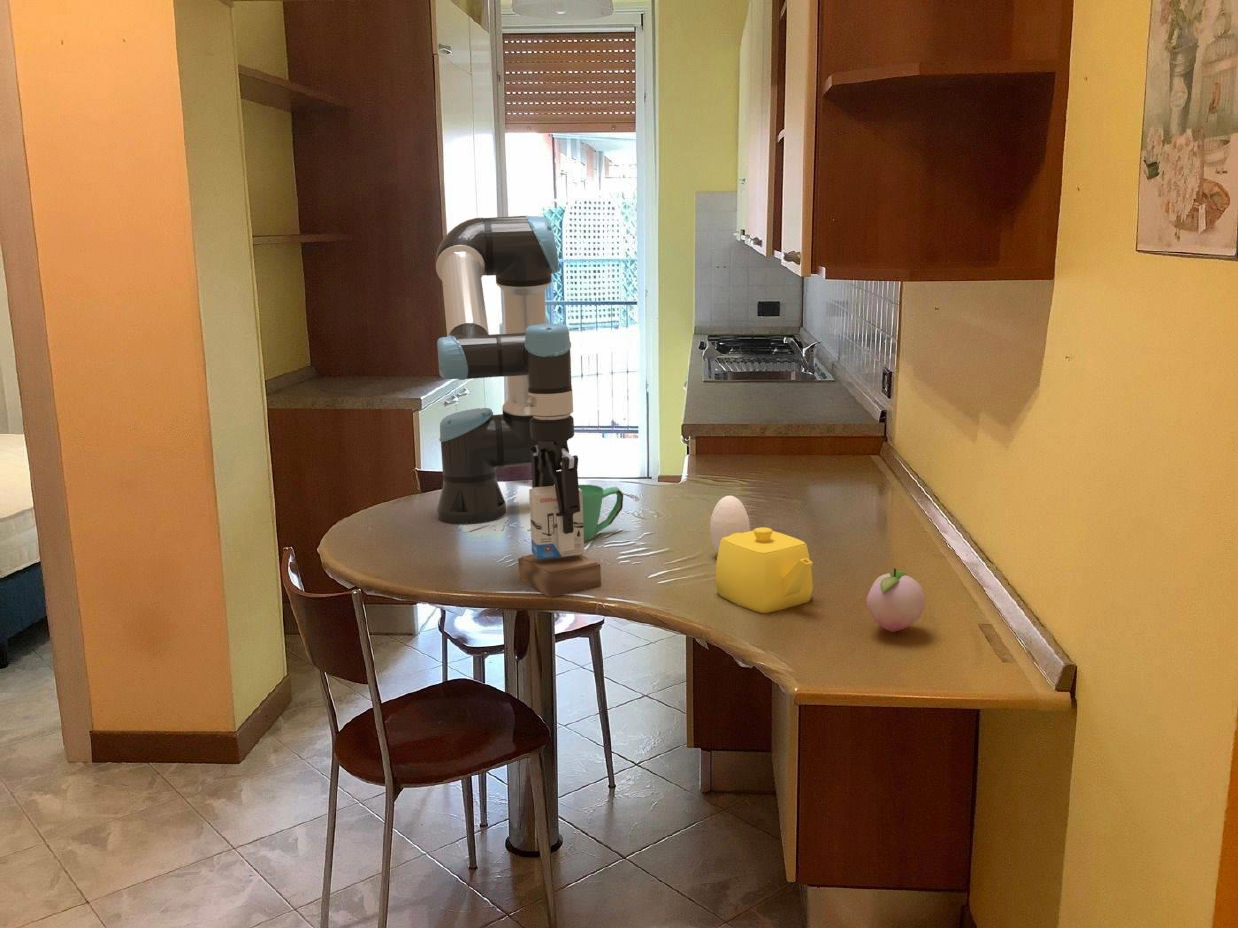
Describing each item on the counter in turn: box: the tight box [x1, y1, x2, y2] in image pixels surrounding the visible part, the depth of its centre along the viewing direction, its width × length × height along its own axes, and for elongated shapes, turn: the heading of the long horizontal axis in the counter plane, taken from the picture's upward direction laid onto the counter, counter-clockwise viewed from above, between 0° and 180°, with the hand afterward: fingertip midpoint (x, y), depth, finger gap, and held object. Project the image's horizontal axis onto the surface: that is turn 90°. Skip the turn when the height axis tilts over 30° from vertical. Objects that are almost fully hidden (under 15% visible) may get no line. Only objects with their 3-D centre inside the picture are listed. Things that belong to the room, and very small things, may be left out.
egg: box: [709, 495, 751, 552], centre depth 194 cm, size 7×7×12 cm
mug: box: [578, 484, 624, 542], centre depth 211 cm, size 15×10×10 cm
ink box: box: [528, 485, 585, 559], centre depth 181 cm, size 9×5×12 cm, turn 107°
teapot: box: [715, 527, 814, 614], centre depth 171 cm, size 20×12×12 cm, turn 32°
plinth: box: [517, 553, 602, 599], centre depth 183 cm, size 12×10×4 cm
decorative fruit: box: [866, 567, 926, 633], centre depth 155 cm, size 9×8×10 cm
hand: (557, 545), depth 182 cm, fingers closed on ink box, 6 cm apart
